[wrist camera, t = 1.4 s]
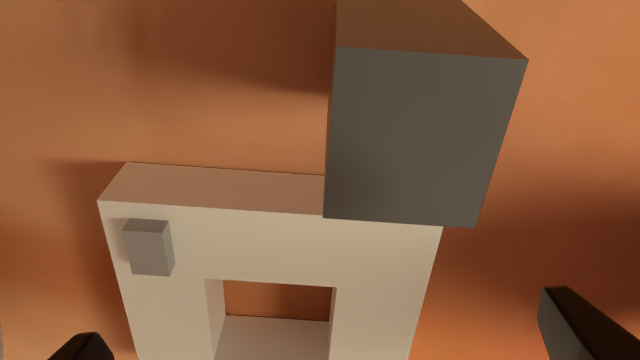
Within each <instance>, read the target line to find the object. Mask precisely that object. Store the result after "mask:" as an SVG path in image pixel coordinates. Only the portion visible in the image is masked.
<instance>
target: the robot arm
mask: <svg viewBox="0 0 640 360" xmlns="http://www.w3.org/2000/svg"><path fill="white" fill-rule="evenodd" d="M537 317H538V324H539V328H540V331H541V334H542V337H543V340H544V343H545V346H546V349H547V352H548V355H549V358H550V360H640V340H639V339H638V338H636V337H635V336H634V335H632V334H631V333H630V332H628V331H627V330H626V329H624V328H623V327H622V326H620V325H619V324H618V323H616V322H615V321H614V320H612V319H611V318H610V317H608V316H607V315H606V314H604V313H603V312H602V311H600V310H599V309H598V308H596V307H595V306H594V305H592V304H591V303H590V302H588V301H587V300H586V299H584V298H583V297H582V296H580V295H579V294H578V293H576V292H575V291H574V290H572V289H571V288H570V287H568V286H566V285H555V286H546V287H544V288H543V289H542V290H541V294H540V301H539V308H538V315H537ZM47 360H115V359H114V355H113V353H112V352H111V350H110V349H109V347H108V346H107V344H106V343H105V341H104V340H103V338H102V337H101V335H100V334H99V333H97V332H86V333H79V334H76V335H75V336H73V337H72V338H71V339H70V340H69V341H68V342H66V343H65V344H64V345H63V346H62V347H61V348H60V349H59V350H58V351H56V352H55V353H54V354H53V355H52V356H51V357H50V358H49V359H47Z"/></svg>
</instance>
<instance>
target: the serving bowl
mask: <svg viewBox="0 0 640 360" xmlns="http://www.w3.org/2000/svg"><path fill="white" fill-rule="evenodd" d="M2 359H3V342H2V332H1V326H0V360H2Z"/></svg>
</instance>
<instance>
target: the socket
mask: <svg viewBox="0 0 640 360" xmlns="http://www.w3.org/2000/svg"><path fill="white" fill-rule="evenodd" d="M323 198H324V176H322V175H307V174H293V173H278V172H264V171H249V170H234V169H220V168H205V167H191V166H176V165H162V164H147V163H133V162H126V163H125V164H124V166H123V167H122V168H121V169H120V171H119V172H118V173H117V174H116V176H115V177H114V178H113V180H112V181H111V182H110V183H109V185H108V186H107V187H106V189H105V190H104V191H103V192H102V194H101V195H100V196H99V197H98V199H97V200H96V201H97V205H98V208H99V212H100V216H101V220H102V224H103V227H104V231H105V235H106V239H107V243H108V246H109V250H110V254H111V258H112V261H113V265H114V269H115V273H116V277H117V280H118V284H119V288H120V292H121V296H122V299H123V303H124V307H125V311H126V315H127V318H128V322H129V326H130V330H131V334H132V337H133V341H134V345H135V349H136V353H137V356H138V360H408V356H409V352H410V349H411V345H412V341H413V338H414V334H415V330H416V326H417V323H418V319H419V315H420V312H421V308H422V304H423V301H424V297H425V293H426V290H427V286H428V282H429V278H430V275H431V271H432V267H433V264H434V260H435V256H436V253H437V249H438V245H439V241H440V238H441V234H442V230H443V226H428V225H414V224H399V223H384V222H370V221H355V220H340V219H326V218H323ZM223 280H236V281H250V282H265V283H280V284H295V285H310V286H324V287H332V296H331V306H330V315H329V322H326V321H311V320H296V319H281V318H266V317H251V316H237V315H226V313H225V301H224V289H223Z"/></svg>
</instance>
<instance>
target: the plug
mask: <svg viewBox="0 0 640 360" xmlns="http://www.w3.org/2000/svg"><path fill="white" fill-rule="evenodd" d="M528 61H529V60H528V59H527V58H526V57H525V56H524V55H523V54H522V53H521V52H519V51H518V50H517V49H516V48H515V47H514V46H513V45H511V44H510V43H509V42H508V41H507V40H506V39H505V38H503V37H502V36H501V35H500V34H499V33H498V32H497V31H496V30H494V29H493V28H492V27H491V26H490V25H489V24H488V23H486V22H485V21H484V20H483V19H482V18H481V17H480V16H478V15H477V14H476V13H475V12H474V11H473V10H472V9H471V8H469V7H468V6H467V5H466V4H465V3H464V2H463V1H461V0H336V7H335V20H334V33H333V47H332V60H331V73H330V87H329V100H328V113H327V134H326V155H325V176H324V198H323V218H326V219H340V220H355V221H370V222H384V223H399V224H414V225H428V226H443V227H457V228H472V229H475V226H476V223H477V220H478V217H479V214H480V211H481V208H482V204H483V201H484V198H485V195H486V192H487V189H488V186H489V183H490V179H491V176H492V173H493V170H494V167H495V164H496V161H497V158H498V155H499V151H500V148H501V145H502V142H503V139H504V136H505V133H506V130H507V126H508V123H509V120H510V117H511V114H512V111H513V108H514V105H515V101H516V98H517V95H518V92H519V89H520V86H521V83H522V80H523V77H524V73H525V70H526V67H527V64H528Z"/></svg>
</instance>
